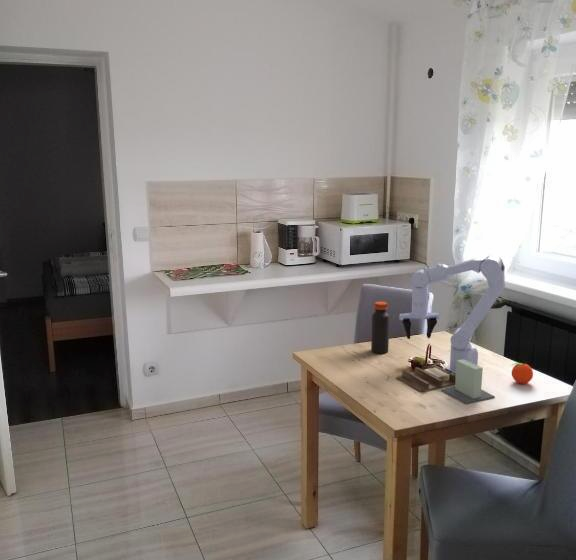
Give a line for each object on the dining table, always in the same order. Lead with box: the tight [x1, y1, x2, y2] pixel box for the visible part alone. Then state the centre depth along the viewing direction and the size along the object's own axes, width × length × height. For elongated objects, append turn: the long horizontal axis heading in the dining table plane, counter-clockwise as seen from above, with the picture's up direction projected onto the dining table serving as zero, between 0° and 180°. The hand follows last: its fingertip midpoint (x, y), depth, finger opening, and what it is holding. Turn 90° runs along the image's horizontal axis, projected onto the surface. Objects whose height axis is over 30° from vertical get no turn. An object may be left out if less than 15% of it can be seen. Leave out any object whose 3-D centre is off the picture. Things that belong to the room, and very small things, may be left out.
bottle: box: [370, 301, 390, 355], centre depth 237 cm, size 7×7×20 cm
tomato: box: [508, 362, 534, 384], centre depth 206 cm, size 8×7×7 cm
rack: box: [396, 364, 456, 393], centre depth 209 cm, size 16×14×3 cm
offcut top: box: [423, 367, 450, 379], centre depth 210 cm, size 5×8×1 cm, turn 25°
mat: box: [440, 386, 496, 405], centre depth 197 cm, size 12×12×1 cm
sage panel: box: [454, 359, 484, 399], centre depth 196 cm, size 3×9×10 cm, turn 25°
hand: (418, 337), depth 223 cm, fingers open, 7 cm apart
